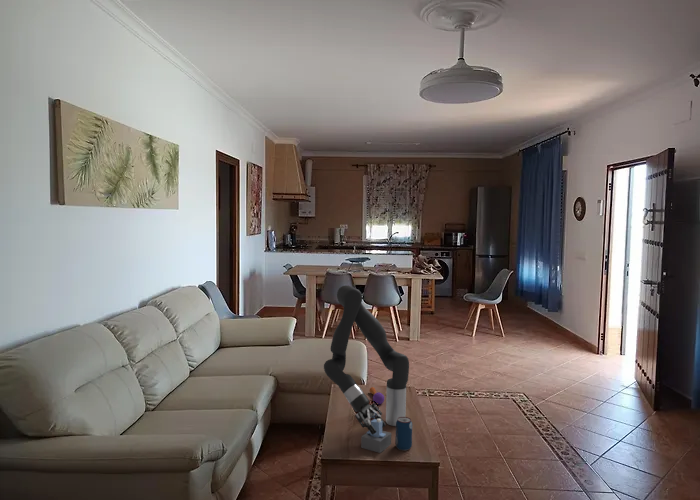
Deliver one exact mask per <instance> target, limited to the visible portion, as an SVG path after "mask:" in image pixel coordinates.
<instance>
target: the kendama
mask: <svg viewBox="0 0 700 500" xmlns="http://www.w3.org/2000/svg"><path fill="white" fill-rule="evenodd" d="M370 392H371V393H370ZM369 393H370V394H372V395H373V396H372V401H373V402H374V401H375V402H376V403H378V404H377V405H381V404H383V403H384V402H385V395H384V394H383V393H382V392H378V391H377V390H376V388H375V387H373V386H371V387H370V388H369ZM375 402H374V403H375ZM376 403H375V404H376Z"/></svg>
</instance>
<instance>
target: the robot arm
mask: <svg viewBox="0 0 700 500" xmlns="http://www.w3.org/2000/svg"><path fill="white" fill-rule="evenodd" d="M336 299H337V302H338V303H339V304H340V305H341V306H342V307H343V309H342V316H341V318H340V321H339V322H338V325H337V326H336V328H335V330H334V331H333V332H334V333H333V336H332V339H331V343H330V352H331V353H332V356H331V358H329V359H328V360H326V361H325V362H324V364H323V370H324V373H325V374H326V376H327V377H328V378H329V379H330V380H331V381H332V382H334V384H335V385H337V386H338V388H339V389H340V391H341V392H342V393H343V395H344V397H345V398H346V400H347V402H348V403H349V404H350V406H351V407H352V408H353V411H354V412H356V414H355V415H354V416H355V419H356V420H357V421H358V423H359V425H360V426H361V427H362V428H366V429H367V430H368V431H370V433H371V434H372V435H373V434H375V433H376V430H375V428H374V427H373V426H372V424H371V419H376V420H377V419H381V421H383V424H382V429H383V428H385V426H386V424H387V425H388V426H392V427H396V421H397V419H398V418H399V417H406V413H407V411H406V409H407V406H406V405H407V403H406V402H407V385H408V381H409V374H410V373H409V372H410V360H409V358H408V356H407V355H405V354H403V353H400V352H398V351H396V350H395V349H394V348H393V347H392V346H391V345H390V342H389V341H388V339H387V337H388V336H387V332H386V330H385V328H384V327H383V324H381V322H380V321H379V319H377V318H376V317H375V315H374V314H373V313H372V312H371V311H369V310H368V309H367V308H366V306H364V305H363V303H362V302H363V294H362V292H361V291H360V289H357V288H355V287H354V286H351V285H342V286H340V287H339V288H338V290H337V292H336ZM354 323H355V324H356V326H357V327H358V329H359V330H360V332H361V333H362V335H363V336H364V337H365V340H367V341H368V342H369V344H370V346H371V347H372V349H374V350H375V352H376V353H377V355H378V356H379V358H380V360H381V362H382V364H383V365H384V367H385V368H386V369H387V370H388V371H391V372H392V376H391V377H392V378H388V379H387V380H386V393H385V394H386V397H385V399H386V405H385V421H384V419H382V415H383V412H382V411H381V410H380V408H379V407H378V406H377V404H376V403H375V402H373V403H371V404H370V399H369V398H368V397H367V395H366V393H365V392H364V390H363V389H362V388H361V387H360V386H359V384H357V382H356V381H355V380H354V378H353V377H352V376H351V375H350V374H349V373H345V372H344V369H345V367H346V361H347V354H346V353H347V350H348V349H347V348H348V345H349V344H348V343H349V340H350V335H351V332H352V329H353V325H354Z"/></svg>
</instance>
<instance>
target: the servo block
mask: <svg viewBox="0 0 700 500" xmlns="http://www.w3.org/2000/svg"><path fill="white" fill-rule="evenodd" d="M383 421H384V420H383ZM383 421H381V419H377V420H376V419H374V418H372V420H370V423H371V424H372V426H373V427H374V428H375V430H376V433H375V434H373V435H372V434H371V433H370V431H369V430H368V431H366V433H367V434H370V436H374V437H377V438H381V437H382V438H383V437H384V436H386V434H385V433H382V431H383V428H382V424H383ZM371 424H370V425H371Z"/></svg>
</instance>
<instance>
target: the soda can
mask: <svg viewBox="0 0 700 500" xmlns="http://www.w3.org/2000/svg"><path fill="white" fill-rule="evenodd" d="M394 437H395V442H394V443H395V446H396V449H398V450H399V451H408V450H410V449H411V448H412V447H413V446H412V445H413V422H412V418H410V417H408V416H405V417H399V418H398V419H397V421H396V426H395V436H394Z"/></svg>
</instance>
